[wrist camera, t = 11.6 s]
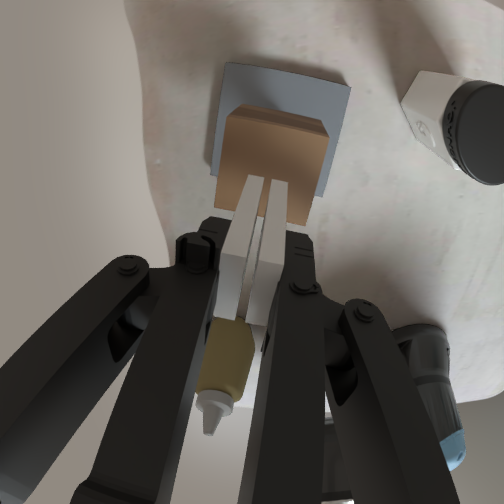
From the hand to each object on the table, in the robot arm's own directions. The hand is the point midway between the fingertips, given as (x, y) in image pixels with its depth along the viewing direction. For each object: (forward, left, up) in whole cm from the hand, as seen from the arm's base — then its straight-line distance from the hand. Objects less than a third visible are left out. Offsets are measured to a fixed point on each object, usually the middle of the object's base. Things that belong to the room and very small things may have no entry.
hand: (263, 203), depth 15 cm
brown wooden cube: (0, 0, -10) cm, 10 cm away
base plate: (0, 0, -18) cm, 18 cm away
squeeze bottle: (-30, +1, -19) cm, 35 cm away
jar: (+7, -16, -19) cm, 26 cm away
